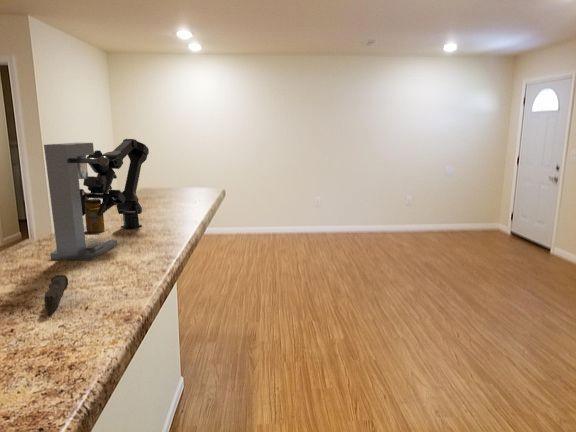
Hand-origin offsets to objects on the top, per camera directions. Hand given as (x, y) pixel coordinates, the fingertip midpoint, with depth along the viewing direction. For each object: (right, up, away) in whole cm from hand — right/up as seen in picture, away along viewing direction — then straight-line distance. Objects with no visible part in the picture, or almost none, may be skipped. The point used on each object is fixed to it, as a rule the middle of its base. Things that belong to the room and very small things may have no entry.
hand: (90, 215), depth 145 cm
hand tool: (+12, -22, -41) cm, 48 cm away
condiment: (0, -7, +3) cm, 7 cm away
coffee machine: (+4, -13, -3) cm, 14 cm away
